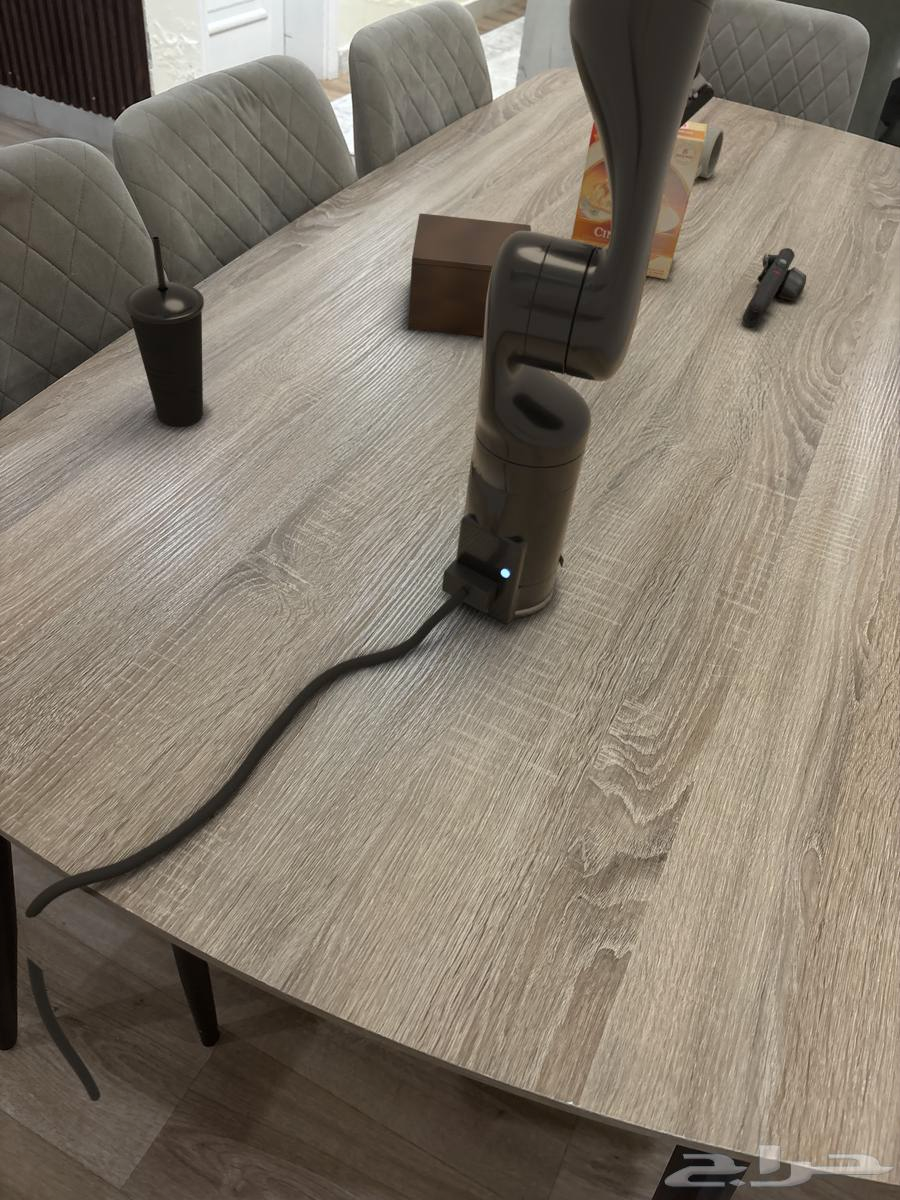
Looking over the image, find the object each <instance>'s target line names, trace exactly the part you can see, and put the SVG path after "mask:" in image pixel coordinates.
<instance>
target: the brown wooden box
mask: <svg viewBox="0 0 900 1200" xmlns="http://www.w3.org/2000/svg"><path fill="white" fill-rule="evenodd" d="M518 231H531V232H532V225H530V224H524V223H516V222H505V221H496V220H486V219H478V218H469V217H458V216H448V215H439V214H431V213H430V214H429V213H422V212H421V213H419V214H418V219H417V225H416V232H415V237H414V238H415V239H414V244H413V248H412V249H413V250H412V255H411V266H410V267H411V268H410V284H409V285H410V286H409V301H408V318H407V320H408V321H407V329H408V330H415V331H426V332H437V333H446V334H457V335H464V336H466V335H467V336H476V337H483V336H484V319H485V308H486V297H487V291H488V285H489V280H490V275H491V271H492V267H493V264H494V261H495V258H496V256H497V253H498V251H499V249H500V248H501V246H502V244H503V243H504V241H505V240H506V239H507V238H508V237H509V236H510V235H511V234H513V233H515V232H518Z"/></svg>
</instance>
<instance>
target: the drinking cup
mask: <svg viewBox="0 0 900 1200" xmlns="http://www.w3.org/2000/svg"><path fill="white" fill-rule="evenodd" d="M160 239H161V238H160V237H159V236H152V238H151V242H152V247H153V256H154V262H155V268H156V269H155V270H156V276H157V282H156V281H154V282H150V283H145V284H142V285H140V286H136V287H134V288H133V289H132V290H130V291H129V292H128V293H127V294H126V296H125V298H124V300H123V301H124V309H125V310H126V312H127V314H128V315H129V316H130V321H131V323H132V327H133V332H134V334H135V339H136V342H137V346H138V349H139V352H140V353H139V354H140V357H141V359H142V362H143V363H142V364H143V367H144V368H143V369H144V371H145V375H146V379H147V383H148V386H149V389H150V393H151V396H152V397H151V398H152V400H153V404H154V407H155V411H156V415H157V418H158V420H159V421H160V422H161V423H162V424H164V425H167V426H169V427H174V428H183V427H189V426H192V425H194V424H197V423H198V422H199V421H201V419H202V418H203V416H204V393H203V392H204V391H203V390H204V388H203V387H204V385H203V383H204V382H203V381H204V380H203V317H202V316H203V312H202V311H203V309H204V307H205V299H204V295H203V294H202V293H201V291H200V290H198V289H197V288H195V287H194V286H191V285H189V284H186V283H182V282H177V281H166V277H165V269H164V262H163V255H162V247H161V240H160Z"/></svg>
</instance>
